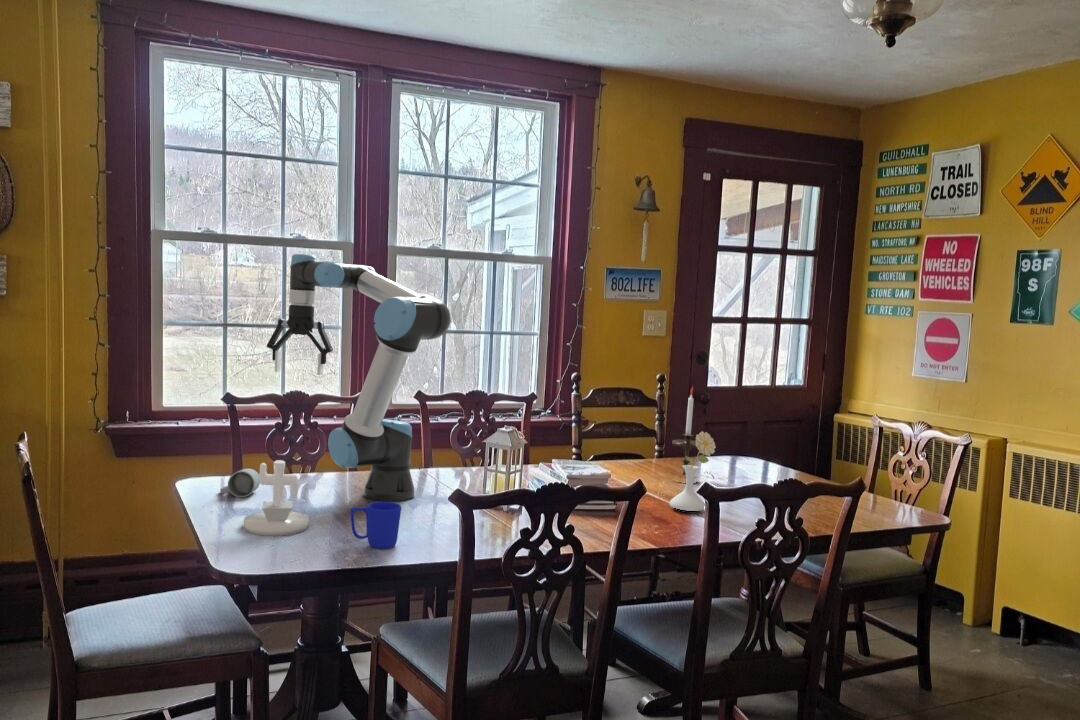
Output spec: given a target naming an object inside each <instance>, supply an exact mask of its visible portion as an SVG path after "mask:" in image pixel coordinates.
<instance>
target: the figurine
mask: <svg viewBox="0 0 1080 720" xmlns="http://www.w3.org/2000/svg"><path fill="white" fill-rule="evenodd" d="M285 469H286V461H284V460H283V459H282V460H281V459H276V460H275V461H273V473H268V472H267V464H266V462H262V463H260V465H259V480H260V484H259V485H262V486H273V487H272V488H273V489H272V492H273V493H272V501H271V500H270V501H269V500H267V501H262V508H261V509H262V512H264V514H265V516H266V518H267V520H268V521H286V520H287V518H288V516H289V514H290V512H292V509H293V501H290V500H288V501H287V500H284V486H290V495H291V496H297V495H298V490H299V489H298V488H299V478H298V475H297V474H294V473H291V474H290V473H285Z"/></svg>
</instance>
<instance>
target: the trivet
mask: <svg viewBox="0 0 1080 720" xmlns="http://www.w3.org/2000/svg"><path fill="white" fill-rule="evenodd" d="M309 527H310V517H309V516H308V515H306V514H304V513H301V512H298V511H297V512H296V511H291V512H290V514H289V516H288V518H287V520H286V521H268V520H267V518H266V516H265V514H264V511H260V512H256V513H255V512H254V513H251V514H249V515H246V516H245V517H244V518H243V525H242V528H243V530H244V531H245V532H247V533H250V534H254V535H259V536H265V537H267V536H271V537H272V536H273V537H276V536H277V537H278V536H290V535H295V534H300V533H302V532H305V531H307V530H308V529H309Z"/></svg>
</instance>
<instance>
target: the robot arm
mask: <svg viewBox="0 0 1080 720" xmlns="http://www.w3.org/2000/svg"><path fill="white" fill-rule="evenodd" d="M290 261H291V262H290V267H289V269H290V271H289V273H290V274H289V276H290V278H289V300H288V302H289V303H290V304H289V305H288V319H284V318H279V319H277V325H276V328H275V329H274V331H273V333H272V334H271V337H270V338H269V340H268V342H267V344H266V347H267V348H269V350H272V358H271V359H272V361H273V362H274V372H275V373H278V372H281V368H282V367H281V365H282V364H281V363H282V349H281V350H280V348H281V347H282V346H283V345H284V344H285V343H286V342H287V341H288V340H289V339H290V338H291V337H292V336H293V335H301V336H308V338H309V339H310V340H311V341H312V343H313V344H314V345H315V347H316V348H317V350H318V351H319V352H320V353H318V354H317V368H316V369H317V373H316V375H317V376H321V375H323V374H324V373H323V372H324V365H326V364H327V355H328V354H329V353H331V352H334V349H333V347H332V344H331V341H330V340H329V337H328V335H327V332H326V330H325V323H324V321H317V322H316V321H315V320H314V317H315V307H314V306H315V300H316V299H315V296H316V287H320V288H327V289H328V288H331V289H332V288H337V289H338V288H339V289H350V290H351V289H352V290H355V291H357V292H359V293H360V294H363V295H365V296H367V297H368V298H370V299H372V300H374V301H376V302H378V303H380V304H379V305H378V307H377V308H376V310H375V312H374V316H373V317H374V318H373V322H374V323H375V324H374V325H373V327H374V330H375V333H376V340H377V341H378V343H379V344H378V346H377V349H376V351H375V354H374V356H373V359H372V362H371V365H370V367H369V370H368V373H367V374H366V377H365V380H364V382H363V386H362V388H361V391H360V393H359V396H358V397H357V401H356V404H355V407H354V409H353V411H352V413H350V414H347V415H346V416H345V418H344V421H343V422H342V425H341V426H340V427H336V428H335V429H333V430H331V432H330V433H329V436H328V440H327V443H328V444H327V446H328V451H329V455H330V457H331V460H332V461H333V462H334V463H335V464H336V466H337V467H340V468H342V469H349V468H352V469H355V468H359V467H364V466H365V467H366V466H371V467H370V468H371V469H370V471H369V475H368V477H367V480H366V482H365V486H364V489H363V496H364V497H366V498H367V499H371V500H375V501H381V502H399V501H407V500H411V499H413V498H414V497H415V493H416V492H415V485H414V483H413V477H412V474H411V459H412V458H411V457H412V445H413V444H412V442H413V440H412V439H413V434H412V433H413V427H412V425H411V424H410V423H408V422H405V421H401V420H396V419H389V418H385V416H386V412H387V411H388V407H389V405H390V403H391V400H392V398H393V395H394V392H395V390H396V387H397V385H398V382H399V380H400V378H401V375H402V372H403V370H404V367H405V365H406V362H407V360H408V357H409V355H411V354H414V353H415V352H416V351H417V349H418V347H419V344H420V343H421V341H424V340H427V341H428V340H435V339H438V338H440V337H441V336H443V335H445V333H446V332H447V331H448V330H449V327H450V324H451V318H452V317H451V312H450V309H449V308H448V306H447V305H446V303H445V302H443V301H441V300H440V299H439V298H435V297H434V296H432V295H429V294H419V293H417V292H415V291H414V290H411V289H409V288H407V287H405V286H402V284H399V283H397V282H395V281H393V280H391V279H388V278H386V277H384V276H383V275H380V274H378V273H377V272H376V270H375V268H374V267H372V266H369V265H365V264H350V263H341V262H340V263H339V262H333V261H317V256H316V255H313V254H303V253H301V254H300V253H295V254H294V253H293V254H292V256H291V260H290ZM286 325H287V326H288V329H287V331H285V333H284V334H283V335H282V336H281V337H280V335H281V333H282V332H283V329H284V328H285V327H286ZM313 328H316V329H317V332H318V333H319V336H320V338H321V340H320V339H319V338H318V337H317V335H316V333H315V331H314V330H313ZM279 337H280V338H279ZM278 338H279V339H278ZM321 341H322V342H321ZM412 497H413V498H412ZM410 498H411V499H410ZM406 499H407V500H406Z"/></svg>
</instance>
